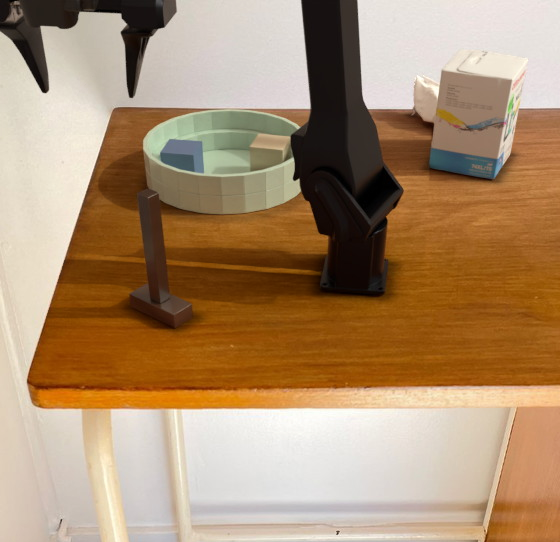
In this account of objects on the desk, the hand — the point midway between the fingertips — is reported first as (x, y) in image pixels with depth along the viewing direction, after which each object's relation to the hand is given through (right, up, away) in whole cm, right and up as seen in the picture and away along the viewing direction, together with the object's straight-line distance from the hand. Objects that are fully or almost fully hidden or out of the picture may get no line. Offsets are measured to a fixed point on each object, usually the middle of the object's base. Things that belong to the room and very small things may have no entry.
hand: (88, 94), depth 87 cm
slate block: (+8, -4, +14) cm, 17 cm away
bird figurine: (+41, +9, +27) cm, 50 cm away
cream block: (+19, -3, +15) cm, 24 cm away
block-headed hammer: (+8, -24, -5) cm, 26 cm away
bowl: (+13, -3, +15) cm, 20 cm away
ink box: (+44, +1, +19) cm, 48 cm away
